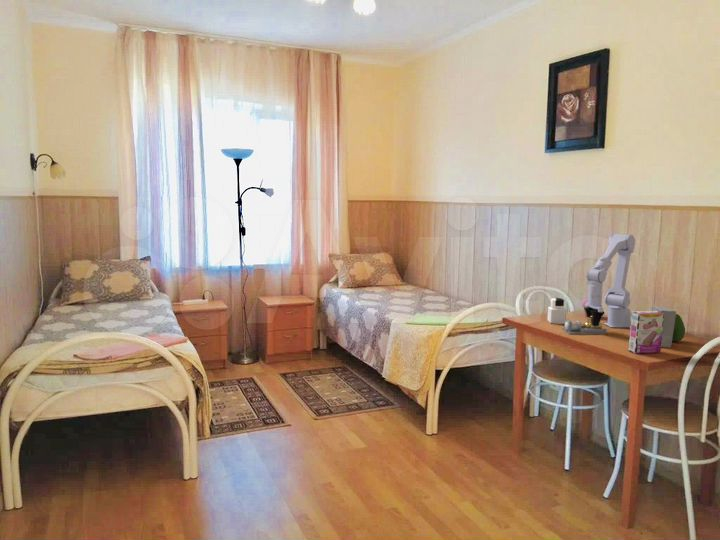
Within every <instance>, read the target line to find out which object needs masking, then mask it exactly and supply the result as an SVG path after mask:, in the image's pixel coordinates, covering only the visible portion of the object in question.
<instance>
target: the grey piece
mask: <svg viewBox="0 0 720 540" xmlns="http://www.w3.org/2000/svg"><path fill="white" fill-rule="evenodd" d="M561 330H562V331H564V332H565V333H566V334H568V335H596V334H607V335H608V332H607V328H602V329H585V328H584V324H581V322H580V320H575V321H572V320H570V319H568V318H566V320H565V324H564V327H561Z"/></svg>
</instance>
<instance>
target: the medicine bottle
mask: <svg viewBox="0 0 720 540" xmlns="http://www.w3.org/2000/svg"><path fill="white" fill-rule="evenodd" d="M564 305H565V299H563V298H561V297H553V298H551V299H550V306H548V307H547V319H546V320H547V322H549V323H550V324H551V323H553V324H552V325H565V320H566V319H567V309H565V306H564Z"/></svg>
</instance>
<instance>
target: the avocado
mask: <svg viewBox="0 0 720 540" xmlns="http://www.w3.org/2000/svg"><path fill="white" fill-rule="evenodd" d="M685 334H686V327H685V324H684V322H683V319H682V317H681V316H680V315H679V314H678V313H676V318H675V324H674V331H673V338H672V342H674V341H675V343H676V342H680V341H682V340H683V339H684V337H685Z"/></svg>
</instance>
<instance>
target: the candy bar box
mask: <svg viewBox="0 0 720 540" xmlns="http://www.w3.org/2000/svg"><path fill="white" fill-rule="evenodd" d="M663 320H664V313H662V312H658V311H651V310H632V311H631V320H630V328H629V336H628V337H629V339H628V351H629V352H630V351H631V352H630V353H632V352H633V354H636V355H637V354H660V353H661V349H662V347H661V340H662V330H663Z"/></svg>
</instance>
